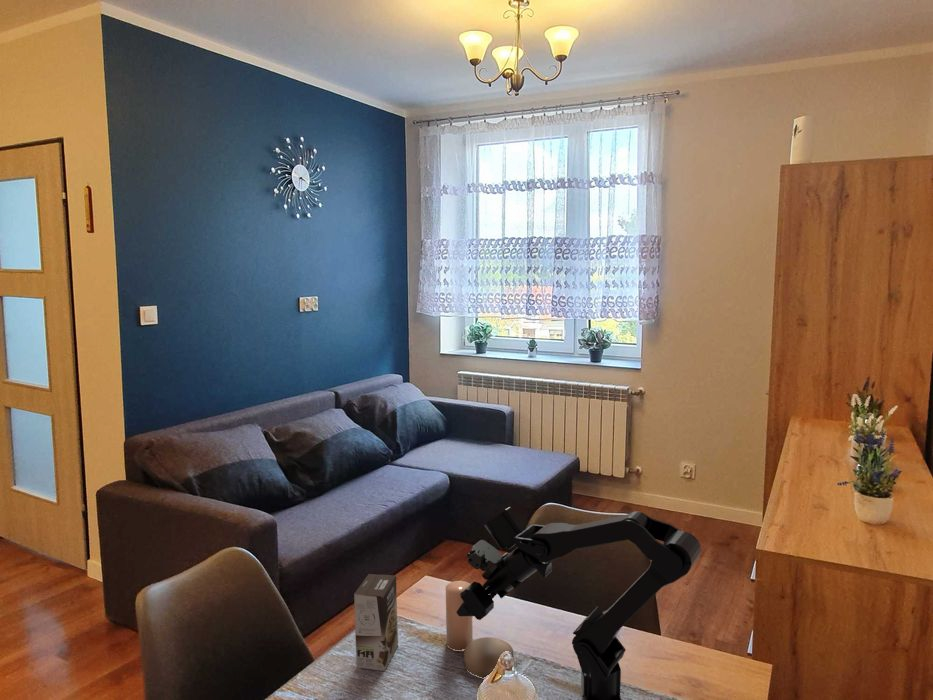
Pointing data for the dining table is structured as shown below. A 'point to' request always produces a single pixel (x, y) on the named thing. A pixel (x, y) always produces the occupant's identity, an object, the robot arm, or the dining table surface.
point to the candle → (457, 617)
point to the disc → (484, 655)
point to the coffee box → (376, 621)
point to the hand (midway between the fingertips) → (469, 603)
